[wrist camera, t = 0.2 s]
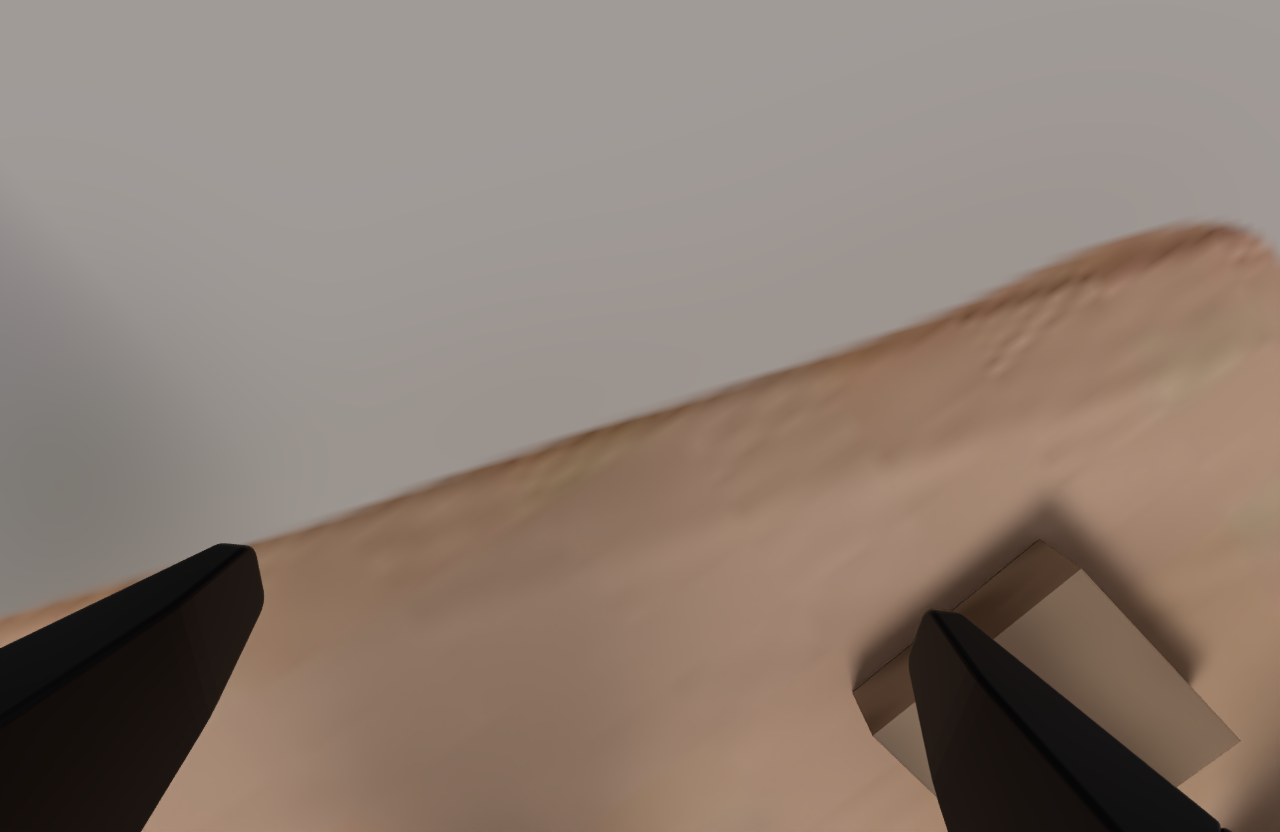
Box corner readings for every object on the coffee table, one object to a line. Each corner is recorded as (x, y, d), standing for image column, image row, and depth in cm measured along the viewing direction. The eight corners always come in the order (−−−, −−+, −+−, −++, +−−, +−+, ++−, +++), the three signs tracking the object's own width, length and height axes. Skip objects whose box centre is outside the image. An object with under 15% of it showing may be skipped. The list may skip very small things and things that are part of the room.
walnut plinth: (1000, 835, 28) (1033, 890, 26) (852, 692, 27) (872, 736, 24) (1186, 696, 27) (1241, 740, 24) (1039, 539, 25) (1081, 568, 23)
